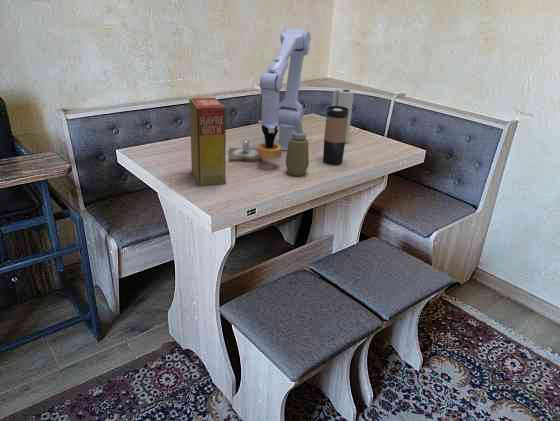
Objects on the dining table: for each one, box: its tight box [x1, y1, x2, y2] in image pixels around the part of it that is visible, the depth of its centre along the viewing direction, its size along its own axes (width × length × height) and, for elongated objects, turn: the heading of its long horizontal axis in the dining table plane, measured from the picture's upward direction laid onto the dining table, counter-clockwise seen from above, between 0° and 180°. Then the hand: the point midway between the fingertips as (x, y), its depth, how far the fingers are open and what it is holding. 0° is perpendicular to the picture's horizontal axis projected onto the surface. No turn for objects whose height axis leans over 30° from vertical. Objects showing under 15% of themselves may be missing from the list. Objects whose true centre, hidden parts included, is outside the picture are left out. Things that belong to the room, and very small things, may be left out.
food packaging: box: [188, 97, 227, 187], centre depth 146 cm, size 13×9×25 cm
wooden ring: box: [257, 142, 283, 160], centre depth 160 cm, size 8×8×3 cm
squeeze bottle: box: [285, 121, 310, 177], centre depth 154 cm, size 8×8×18 cm
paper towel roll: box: [331, 89, 355, 145], centre depth 187 cm, size 7×6×21 cm
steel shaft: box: [241, 139, 250, 154], centre depth 170 cm, size 2×2×5 cm
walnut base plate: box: [228, 147, 264, 163], centre depth 171 cm, size 12×12×1 cm
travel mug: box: [322, 105, 348, 166], centre depth 165 cm, size 8×8×20 cm
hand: (269, 146), depth 163 cm, fingers closed on wooden ring
